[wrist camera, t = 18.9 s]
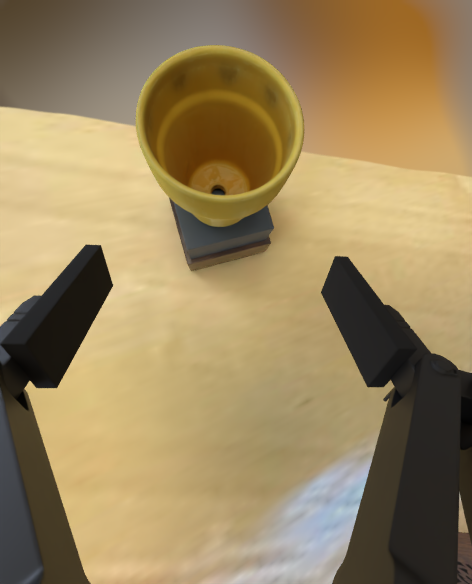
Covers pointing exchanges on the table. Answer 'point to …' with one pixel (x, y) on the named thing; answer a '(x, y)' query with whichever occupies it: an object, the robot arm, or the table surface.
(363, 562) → the robot arm
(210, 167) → the flower pot
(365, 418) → the table surface
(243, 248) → the base block
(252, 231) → the top block
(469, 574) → the tissue box cover
